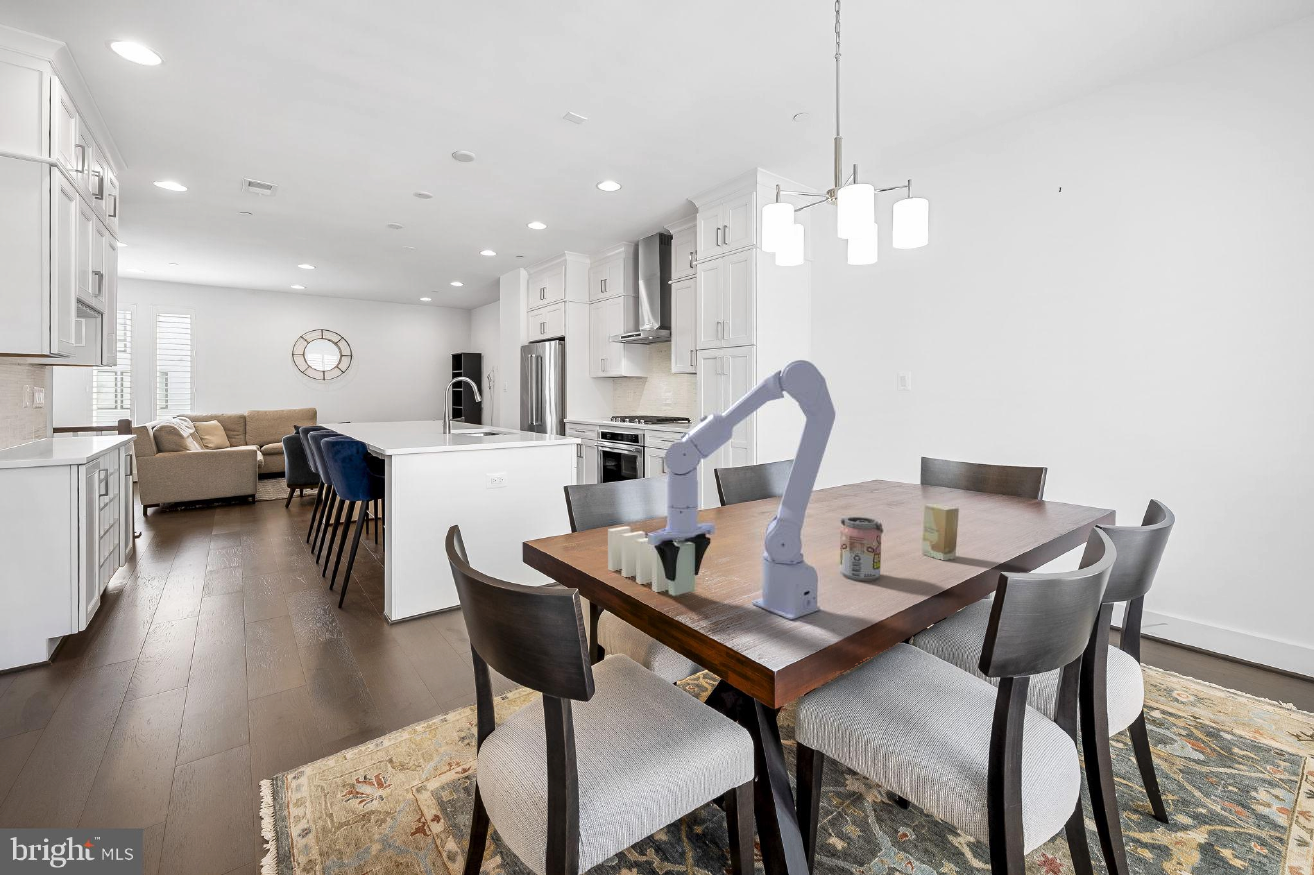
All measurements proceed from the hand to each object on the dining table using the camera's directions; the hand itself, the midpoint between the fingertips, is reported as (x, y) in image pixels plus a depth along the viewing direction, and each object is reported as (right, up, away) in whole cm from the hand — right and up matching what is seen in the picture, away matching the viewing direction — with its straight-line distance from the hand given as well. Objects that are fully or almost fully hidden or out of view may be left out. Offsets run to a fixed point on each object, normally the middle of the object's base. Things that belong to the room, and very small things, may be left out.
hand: (682, 576), depth 105 cm
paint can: (+39, -3, +14) cm, 41 cm away
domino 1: (-13, -3, +18) cm, 22 cm away
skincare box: (+62, -2, +27) cm, 68 cm away
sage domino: (0, -3, 0) cm, 3 cm away
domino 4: (-3, -4, +5) cm, 7 cm away
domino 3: (-6, -3, +9) cm, 12 cm away
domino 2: (-10, -3, +14) cm, 17 cm away
